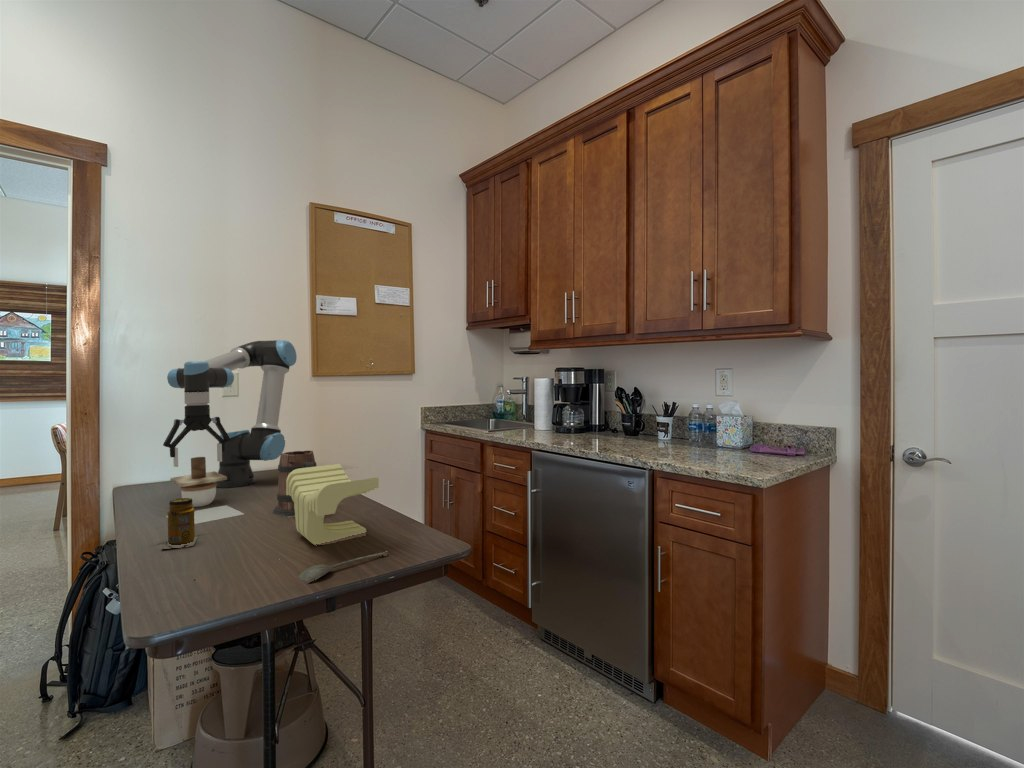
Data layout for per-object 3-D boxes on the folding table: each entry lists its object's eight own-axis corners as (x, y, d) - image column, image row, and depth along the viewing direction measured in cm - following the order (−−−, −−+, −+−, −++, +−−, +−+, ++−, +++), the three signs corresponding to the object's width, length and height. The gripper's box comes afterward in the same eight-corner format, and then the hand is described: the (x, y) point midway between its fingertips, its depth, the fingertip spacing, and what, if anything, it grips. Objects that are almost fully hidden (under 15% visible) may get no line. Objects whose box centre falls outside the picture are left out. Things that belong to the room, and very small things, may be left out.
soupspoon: (291, 583, 108) (303, 593, 103) (290, 568, 108) (302, 577, 103) (380, 553, 123) (394, 561, 119) (380, 540, 123) (393, 547, 119)
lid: (214, 474, 184) (214, 453, 184) (227, 479, 174) (226, 457, 174) (170, 480, 174) (169, 458, 173) (181, 487, 164) (180, 463, 164)
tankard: (263, 511, 166) (262, 452, 166) (313, 502, 177) (312, 447, 177) (288, 525, 149) (286, 460, 149) (341, 514, 160) (340, 453, 160)
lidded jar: (204, 510, 168) (203, 483, 168) (173, 510, 169) (173, 483, 169) (223, 502, 179) (222, 477, 179) (194, 502, 179) (194, 477, 179)
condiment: (198, 538, 138) (197, 495, 138) (193, 547, 130) (193, 502, 130) (167, 542, 135) (166, 498, 135) (160, 551, 127) (160, 505, 127)
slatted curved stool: (287, 530, 144) (285, 470, 144) (341, 519, 154) (339, 463, 154) (318, 557, 120) (317, 486, 120) (379, 543, 130) (378, 477, 130)
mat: (226, 506, 172) (226, 505, 172) (244, 515, 160) (244, 514, 160) (165, 518, 159) (165, 516, 159) (180, 528, 147) (180, 526, 147)
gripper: (231, 402, 185) (233, 458, 186) (152, 406, 167) (153, 467, 167) (238, 403, 180) (240, 460, 181) (157, 406, 162) (158, 470, 162)
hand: (198, 463), depth 174 cm, fingers open, 13 cm apart
